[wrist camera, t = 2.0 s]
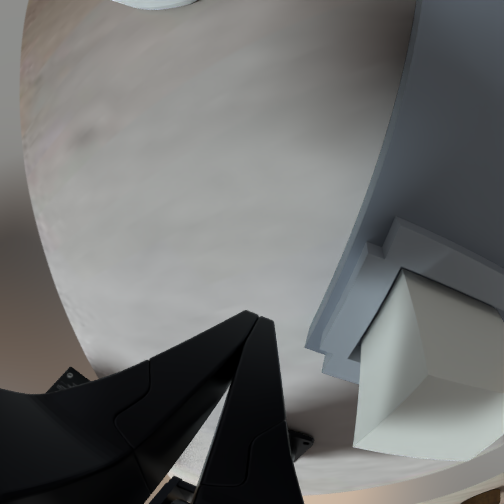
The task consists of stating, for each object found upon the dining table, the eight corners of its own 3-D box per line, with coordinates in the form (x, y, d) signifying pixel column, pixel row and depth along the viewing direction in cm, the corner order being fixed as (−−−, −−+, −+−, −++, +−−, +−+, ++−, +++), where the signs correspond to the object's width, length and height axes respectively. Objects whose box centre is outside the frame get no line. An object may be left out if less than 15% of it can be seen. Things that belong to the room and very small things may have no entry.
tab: (451, 368, 10) (467, 461, 5) (361, 339, 11) (352, 447, 6) (496, 308, 8) (539, 400, 4) (402, 268, 9) (428, 374, 5)
